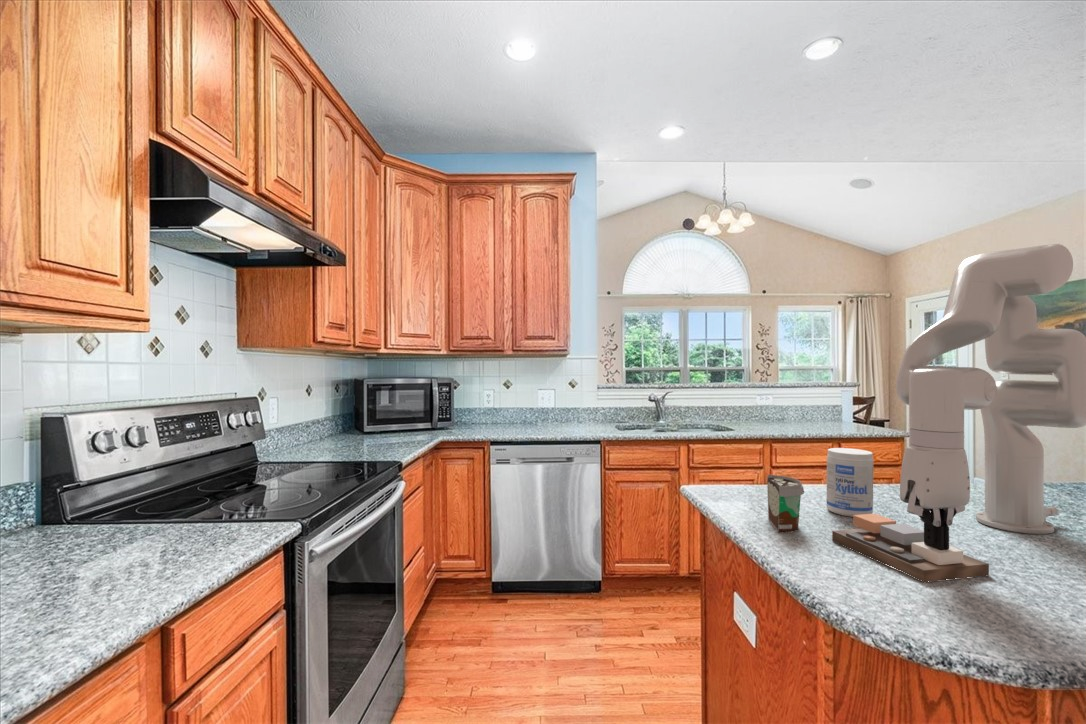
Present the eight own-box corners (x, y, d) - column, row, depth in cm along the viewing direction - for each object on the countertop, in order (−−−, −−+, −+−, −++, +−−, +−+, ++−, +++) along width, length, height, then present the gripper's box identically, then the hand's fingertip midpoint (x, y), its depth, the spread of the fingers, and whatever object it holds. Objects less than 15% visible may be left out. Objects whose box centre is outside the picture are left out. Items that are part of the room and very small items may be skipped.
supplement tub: (836, 517, 119) (835, 453, 119) (820, 506, 128) (819, 447, 128) (881, 519, 117) (881, 454, 117) (862, 507, 127) (861, 447, 127)
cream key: (935, 551, 91) (935, 540, 91) (963, 562, 86) (963, 550, 86) (911, 554, 90) (911, 542, 90) (938, 565, 86) (938, 553, 86)
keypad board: (887, 536, 106) (887, 522, 106) (988, 575, 86) (988, 558, 86) (832, 540, 103) (832, 526, 103) (924, 582, 84) (924, 564, 84)
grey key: (902, 533, 98) (902, 523, 98) (927, 543, 93) (927, 531, 93) (880, 535, 97) (880, 525, 97) (904, 545, 92) (903, 533, 92)
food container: (812, 536, 106) (812, 488, 106) (780, 534, 107) (780, 486, 107) (795, 518, 118) (795, 475, 118) (766, 517, 119) (766, 474, 119)
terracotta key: (874, 523, 104) (874, 513, 104) (896, 531, 99) (896, 521, 99) (853, 525, 103) (853, 515, 103) (873, 533, 98) (873, 522, 98)
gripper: (950, 436, 94) (950, 537, 93) (880, 438, 91) (880, 542, 91) (994, 442, 86) (994, 551, 86) (919, 445, 83) (919, 558, 83)
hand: (936, 546), depth 88 cm, fingers closed
